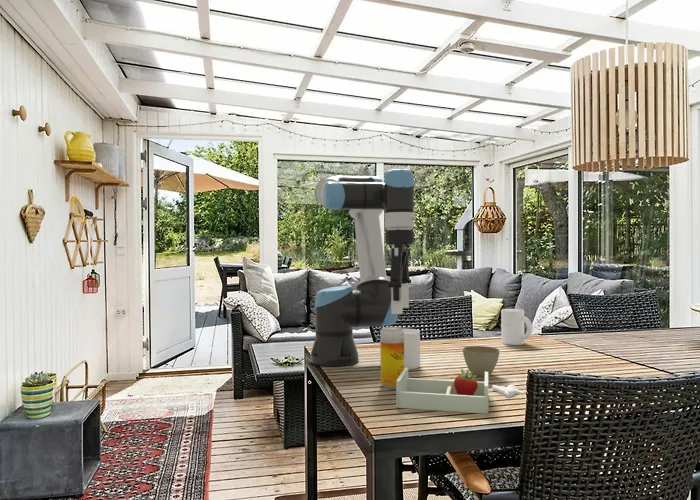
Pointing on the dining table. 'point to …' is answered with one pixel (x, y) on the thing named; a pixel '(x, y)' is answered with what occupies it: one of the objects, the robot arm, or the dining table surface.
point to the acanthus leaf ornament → (507, 390)
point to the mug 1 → (411, 348)
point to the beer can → (391, 355)
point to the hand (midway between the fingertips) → (400, 310)
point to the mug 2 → (514, 326)
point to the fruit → (465, 383)
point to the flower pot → (481, 359)
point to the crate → (439, 395)
